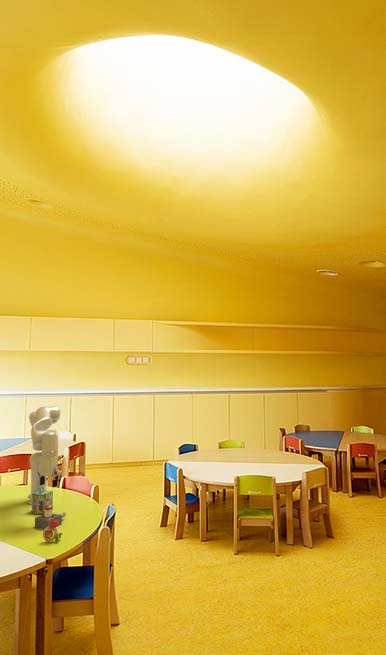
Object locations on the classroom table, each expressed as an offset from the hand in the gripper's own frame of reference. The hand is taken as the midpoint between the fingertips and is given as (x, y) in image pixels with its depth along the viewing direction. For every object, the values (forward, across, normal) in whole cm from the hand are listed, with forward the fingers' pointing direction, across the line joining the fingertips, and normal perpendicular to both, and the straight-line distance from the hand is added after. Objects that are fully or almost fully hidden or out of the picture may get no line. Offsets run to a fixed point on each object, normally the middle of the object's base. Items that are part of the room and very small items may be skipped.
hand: (48, 485), depth 250 cm
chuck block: (+21, +1, +3) cm, 22 cm away
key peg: (+21, +1, 0) cm, 21 cm away
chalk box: (+22, -21, +16) cm, 34 cm away
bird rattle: (+21, +21, -16) cm, 34 cm away
